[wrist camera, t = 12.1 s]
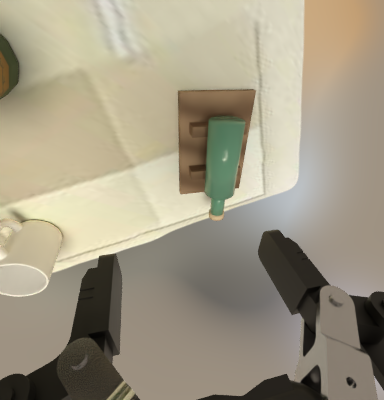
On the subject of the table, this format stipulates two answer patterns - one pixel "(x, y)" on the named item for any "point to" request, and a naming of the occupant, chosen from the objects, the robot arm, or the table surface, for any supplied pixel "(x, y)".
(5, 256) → the mug
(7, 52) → the bottle
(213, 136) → the bottle
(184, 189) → the bottle rest
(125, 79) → the table surface
